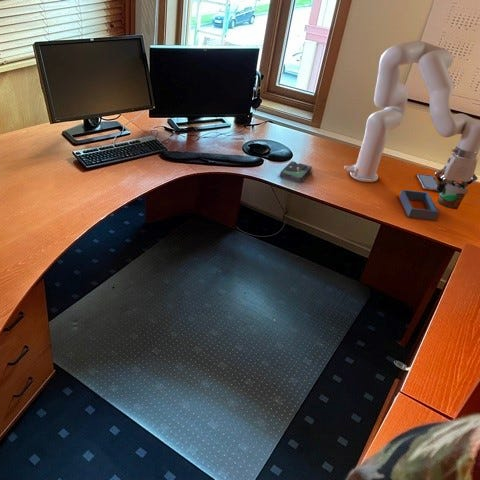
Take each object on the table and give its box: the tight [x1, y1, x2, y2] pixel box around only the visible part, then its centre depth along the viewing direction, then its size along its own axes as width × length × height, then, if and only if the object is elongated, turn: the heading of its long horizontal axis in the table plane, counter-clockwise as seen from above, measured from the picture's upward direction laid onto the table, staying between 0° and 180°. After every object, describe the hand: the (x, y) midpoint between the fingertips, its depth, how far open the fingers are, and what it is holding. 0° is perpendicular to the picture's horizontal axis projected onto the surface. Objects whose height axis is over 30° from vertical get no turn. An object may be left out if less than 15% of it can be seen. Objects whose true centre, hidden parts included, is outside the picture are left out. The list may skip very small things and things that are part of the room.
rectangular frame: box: [398, 189, 440, 221], centre depth 198 cm, size 11×17×4 cm, turn 169°
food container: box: [437, 180, 469, 210], centre depth 193 cm, size 12×6×10 cm, turn 5°
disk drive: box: [279, 160, 313, 183], centre depth 221 cm, size 10×3×15 cm
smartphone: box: [416, 173, 439, 191], centre depth 218 cm, size 7×1×15 cm
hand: (448, 192), depth 193 cm, fingers closed on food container, 6 cm apart
